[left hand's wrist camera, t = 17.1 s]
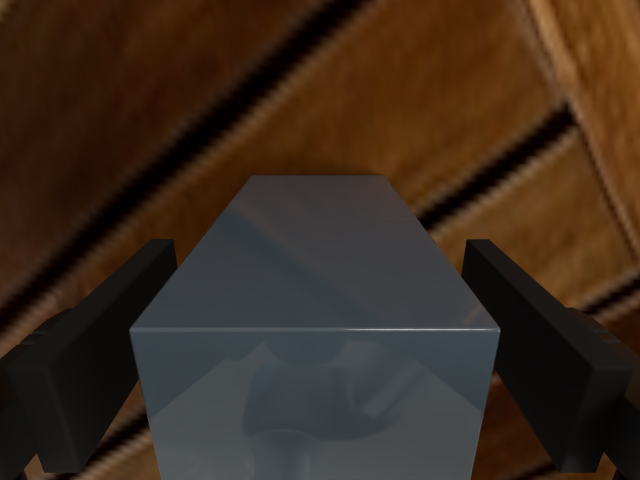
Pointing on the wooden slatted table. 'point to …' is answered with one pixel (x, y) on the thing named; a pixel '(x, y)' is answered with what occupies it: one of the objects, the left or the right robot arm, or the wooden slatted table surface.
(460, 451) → the brick
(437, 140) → the wooden slatted table surface
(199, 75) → the wooden slatted table surface
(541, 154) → the wooden slatted table surface
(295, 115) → the wooden slatted table surface
